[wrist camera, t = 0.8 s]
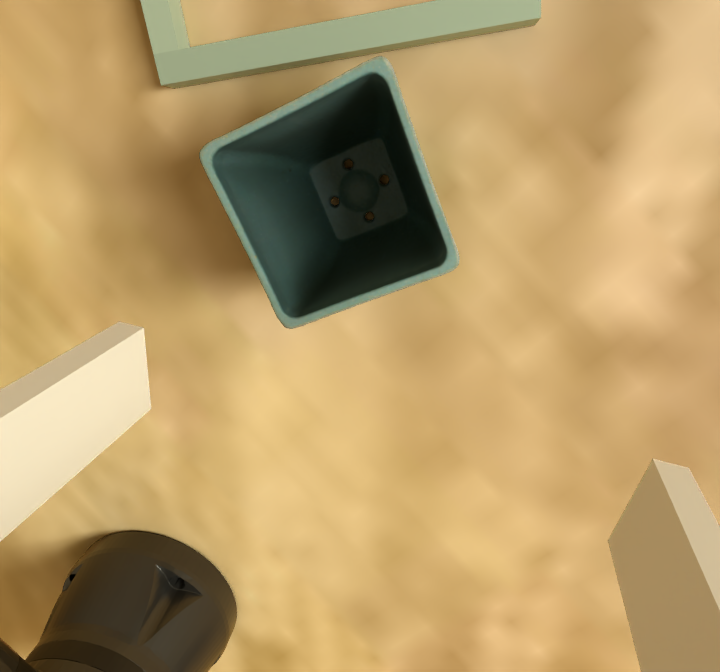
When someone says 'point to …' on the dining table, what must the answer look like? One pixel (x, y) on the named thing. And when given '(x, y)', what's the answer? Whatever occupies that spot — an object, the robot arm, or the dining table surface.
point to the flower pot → (332, 179)
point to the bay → (322, 37)
